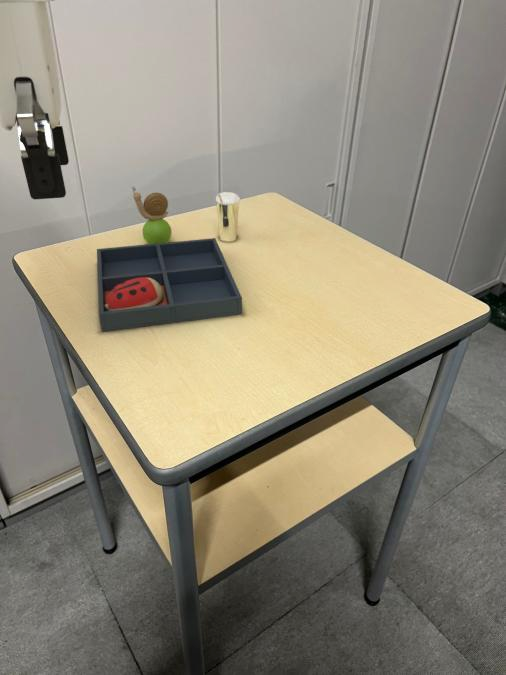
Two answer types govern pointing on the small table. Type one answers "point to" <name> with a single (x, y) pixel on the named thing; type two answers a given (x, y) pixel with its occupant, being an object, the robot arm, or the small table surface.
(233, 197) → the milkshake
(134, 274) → the four-compartment sorting tray
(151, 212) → the snail figurine
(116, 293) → the ladybug figurine
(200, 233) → the small table surface
